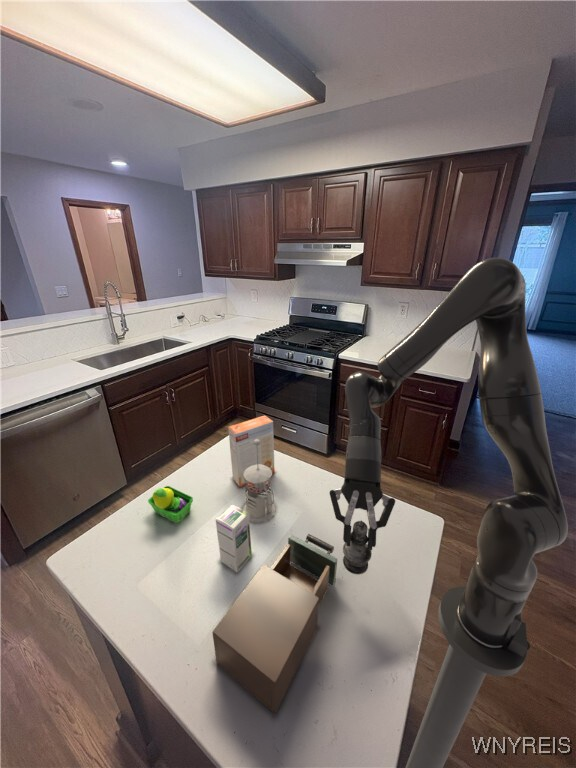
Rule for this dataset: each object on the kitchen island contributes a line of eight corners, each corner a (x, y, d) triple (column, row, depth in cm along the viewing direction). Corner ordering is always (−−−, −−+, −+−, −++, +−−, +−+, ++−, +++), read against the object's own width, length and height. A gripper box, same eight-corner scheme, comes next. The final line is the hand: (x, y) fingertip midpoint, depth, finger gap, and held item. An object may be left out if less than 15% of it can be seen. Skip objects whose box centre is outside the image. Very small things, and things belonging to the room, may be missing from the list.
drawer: (299, 543, 83) (300, 521, 80) (342, 566, 77) (345, 544, 74) (255, 607, 68) (254, 583, 65) (305, 642, 62) (306, 617, 59)
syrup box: (237, 573, 76) (234, 529, 70) (219, 561, 79) (215, 518, 73) (252, 555, 80) (250, 513, 75) (234, 545, 83) (231, 503, 78)
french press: (263, 493, 101) (262, 426, 91) (285, 515, 93) (286, 445, 83) (236, 507, 95) (232, 437, 86) (257, 532, 87) (254, 458, 77)
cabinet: (264, 592, 72) (263, 563, 68) (317, 627, 65) (319, 597, 61) (216, 662, 59) (212, 631, 56) (275, 714, 53) (275, 683, 49)
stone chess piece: (336, 554, 68) (341, 513, 63) (360, 547, 70) (366, 506, 65) (350, 579, 63) (355, 536, 58) (375, 570, 65) (382, 528, 60)
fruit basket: (196, 510, 94) (192, 480, 90) (173, 532, 87) (168, 500, 82) (169, 497, 99) (163, 468, 94) (145, 516, 92) (138, 486, 87)
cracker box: (266, 464, 115) (265, 414, 107) (275, 472, 111) (274, 421, 102) (231, 478, 108) (227, 425, 100) (239, 488, 103) (235, 433, 95)
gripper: (393, 466, 70) (392, 551, 64) (330, 458, 72) (323, 540, 66) (400, 461, 63) (399, 556, 57) (330, 453, 66) (322, 543, 59)
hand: (358, 547), depth 62 cm, fingers closed on stone chess piece, 3 cm apart
